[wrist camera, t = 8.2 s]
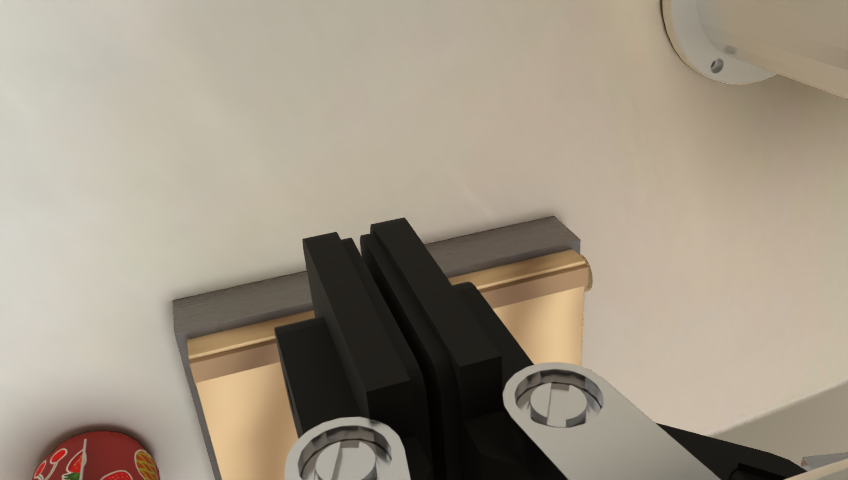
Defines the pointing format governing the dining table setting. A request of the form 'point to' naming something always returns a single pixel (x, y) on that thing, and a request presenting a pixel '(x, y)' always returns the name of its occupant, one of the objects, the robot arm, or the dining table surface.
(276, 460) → the tan flat piece
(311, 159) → the dining table surface
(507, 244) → the stand
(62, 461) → the smoothie
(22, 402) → the dining table surface
